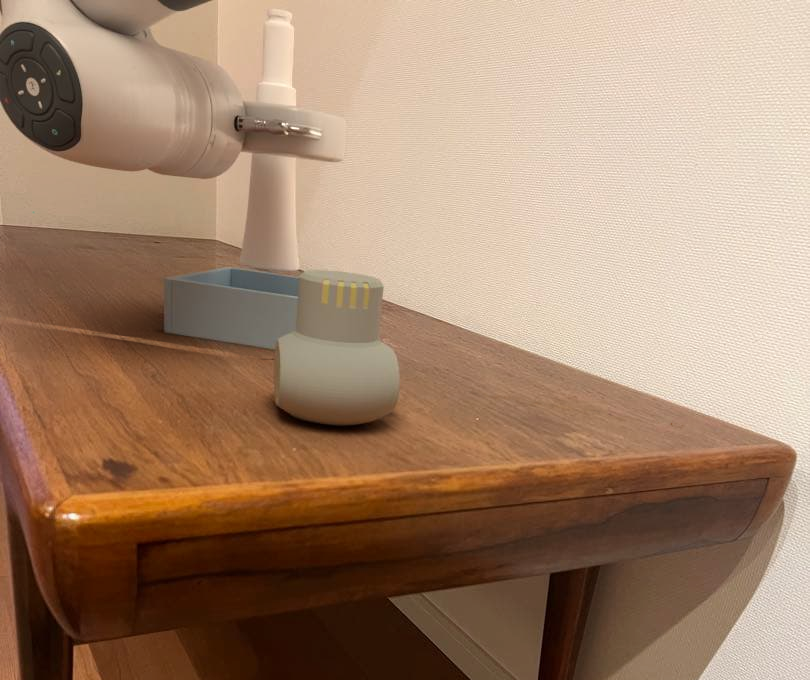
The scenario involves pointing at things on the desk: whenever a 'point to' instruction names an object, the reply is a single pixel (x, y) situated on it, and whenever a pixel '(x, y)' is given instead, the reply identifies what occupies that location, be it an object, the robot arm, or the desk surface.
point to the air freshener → (336, 353)
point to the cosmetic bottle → (273, 162)
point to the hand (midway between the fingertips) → (280, 136)
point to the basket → (232, 305)
